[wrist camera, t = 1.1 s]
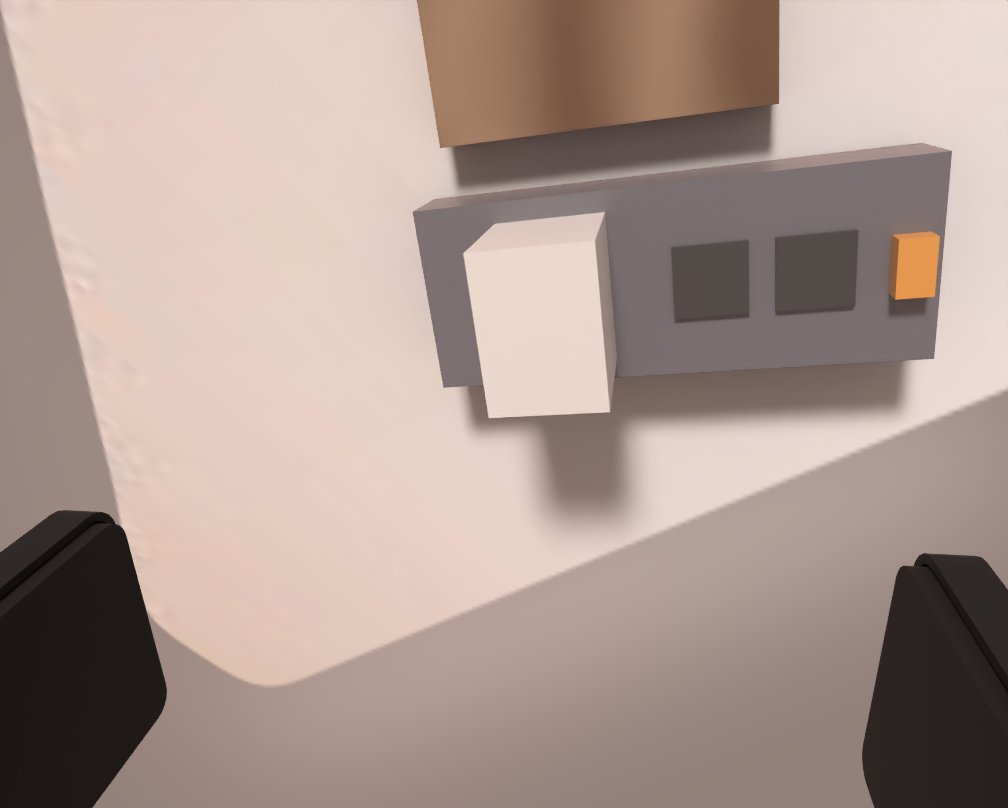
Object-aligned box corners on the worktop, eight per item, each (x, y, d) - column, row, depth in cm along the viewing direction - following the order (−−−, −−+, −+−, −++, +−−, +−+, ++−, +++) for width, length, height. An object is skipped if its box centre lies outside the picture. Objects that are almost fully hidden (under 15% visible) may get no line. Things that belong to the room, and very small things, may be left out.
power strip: (921, 142, 27) (961, 153, 23) (908, 332, 29) (941, 366, 26) (434, 199, 31) (406, 215, 27) (460, 361, 33) (438, 395, 30)
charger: (607, 205, 28) (594, 240, 22) (618, 345, 30) (610, 412, 24) (502, 216, 29) (463, 253, 23) (520, 352, 31) (488, 418, 25)
